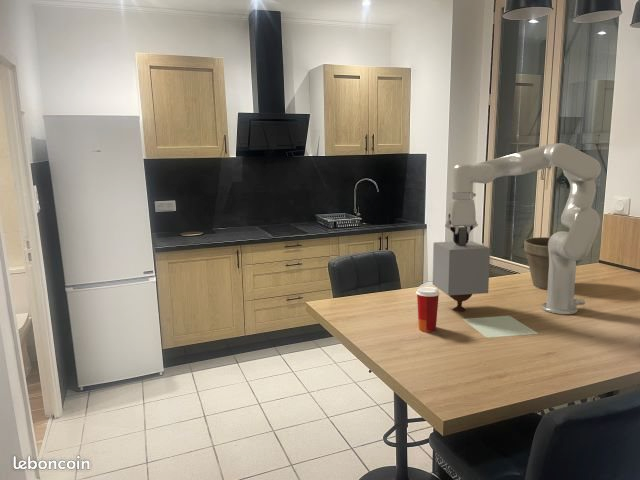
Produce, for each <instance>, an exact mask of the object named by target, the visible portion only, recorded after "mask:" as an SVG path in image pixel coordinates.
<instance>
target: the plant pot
mask: <svg viewBox="0 0 640 480" xmlns="http://www.w3.org/2000/svg"><path fill="white" fill-rule="evenodd" d="M549 239H550V237H548V236H547V237H539V236H538V237H530V238H525V239H524V242H523V245H524V246H523V250H524V252H526V253H525V254H526V259H527V263H528V268H529V272H530V278H531V282H532V285H533V286H534V287H535V288H538V289H541V290H546V291H547V289H548V273H549V252H548V242H549ZM578 262H579V260H578V261H576V266H577V265H578Z"/></svg>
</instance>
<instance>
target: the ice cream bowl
mask: <svg viewBox="0 0 640 480" xmlns="http://www.w3.org/2000/svg"><path fill="white" fill-rule="evenodd" d="M448 296H449V297H450V298H451V299H453V300H454V301H456V303H457V306H455V307H453V308H452V310H453V311H455V312H459V313H462V312H463V313H464V312H466V311H467V309H466V308H465V307H464V306H463V302H465V301H468V300H469V299H470V298H471V297H472V296H473V294H464V295H448Z"/></svg>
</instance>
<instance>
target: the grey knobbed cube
mask: <svg viewBox="0 0 640 480" xmlns="http://www.w3.org/2000/svg"><path fill="white" fill-rule="evenodd" d="M458 234H459V244H456V243H454V241H439V242H437V241H435V242H433V247H432V248H433V250H432V252H433V253H432V257H433V258H432V285H433V287H435V288H437V289H438V290H439V291H441V292H443V293H444V294H445V295H447V296H449V295H464V294H472V295H479V294H480V295H481V294H488V293H489V285H490V284H489V283H490V262H491V261H490V260H491V247H489V246H485V245H483V244H480V243H478V242H475V241H473V240H469V241H468V243H466V234H467V228H465V227H464V226H459V229H458Z"/></svg>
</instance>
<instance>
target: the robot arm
mask: <svg viewBox="0 0 640 480" xmlns="http://www.w3.org/2000/svg"><path fill="white" fill-rule="evenodd" d="M601 166H602V165H601V163H600V162H599V161H598V160H597V159H596V158H594V157H593V156H591V155H589V154H587V153H585V152H583V151H581V150H579V149H577V148H576V147H574V146H572V145H570V144H567V143H565V142H564V143H563V142H559V143H550V144H545V145H541V146H538V147H534V148H530V149H526V150H523V151H518V152H515V153H511V154H508V155H505V156H501V157H497V158H493V159H489V160H486V161H482V162H478V163H476V164H464V163H463V164H455V165H454V166H453V168H452V193H451V195H452V197H451V199H450V200H449V202H448V207H447V216H446V217H447V218H446V223H445V225H444V227H445V228H446V229H449V231H451V232H452V233H453V235H452V237H453V238H452V239H453V240H452V242H454V243H456V244H459V234H458V229H459V227H465V228H467V234H466V243H468V241H470V240H469V238H470V233H471V232H472V230H473V229H475V228H476V227H478V225H479V224H478V222H477V220H476V204H475V200H474V197H476V196H477V194H476V193H474V190H473V189H474V183H476V184H490V183H492V182H493V181H494V180H495V179H497V178H501V177H507V176H521V175H526V174H529V173H532V172H536V171H539V170H544V169H548V168H553V167H558V168H560V169H562V172H563V175H564V176H565V178H567V181H568V183H569V185H570V186H569V187H570V189H569V194H568V199H566V200H567V201H566V203H565V205H564V207H563V208H564V209H563V211H562V214H561V217H560V221H561V224H562V226H563V227H565V228H566V229H569V231H563V230H562V231H556V232H555V233H553V234H552V235H551V236H550V237H549V238H550V239H549V242H548V252H549V273H548V289H547V290H546V292H547V293H546V302H544V303H542V305H541V307H542V309H543V310H544V311H546V312H549V313H553V314H556V315H574V314H577V313H578V307H577V306H584V305H586V301H585V300H584V299H577V298H575V290H576V289H575V287H576V278H577V277H576V276H577V265H576V261H578V262H579V261H581V260H583V259H585V258H586V257H587V256H588V254H589V252H590V250H591V248H592V246H593V243H594V241H595V238H596V236H597V233H598V231H599V228H600V226H601V225H600V224H601V218H600V215H599V213H598V212H597V210H596V209H594V208H592V206H593V202H594V200H595V196H596V192H597V189H596V184H595V183H596V182H595V180H596V179H597V178H598V177H599V176H600V174H601V173H602V167H601Z"/></svg>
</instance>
